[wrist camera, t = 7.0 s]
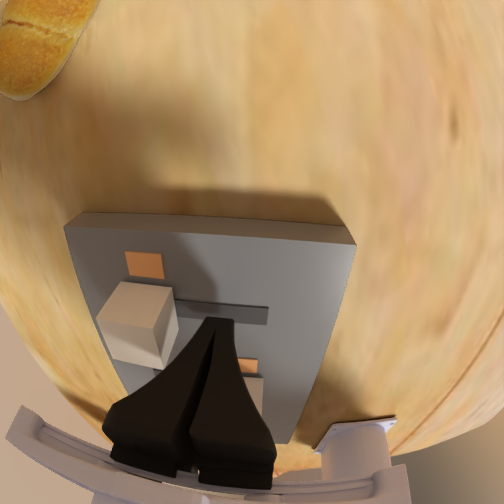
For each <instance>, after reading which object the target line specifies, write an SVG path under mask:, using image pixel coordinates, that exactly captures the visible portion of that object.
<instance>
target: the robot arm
mask: <svg viewBox="0 0 504 504" xmlns="http://www.w3.org/2000/svg"><path fill="white" fill-rule="evenodd" d="M396 422H397V418H396V417H393V418H387V419H379V420H371V421H361V422H350V423H336V424H333V425H332V426H331V427H330V428H329V430H328V431H327V433H326V434H325V436H324V437H323V439H322V440H321V441H320V443H319V444H318V446H317V447H316V448H315V450H314V454H321V463H322V480H319V481H301V482H300V481H296V482H275V481H274V482H273V481H272V476H273V469H274V462H275V459H276V457H277V451H276V447H275V443H274V441H273V438H272V435H271V433H270V430H269V428H268V427H267V425H266V423H265V422H264V420H263V419H262V417H261V415H260V413H259V412H258V410H257V408H256V406H255V404H254V402H253V400H252V398H251V395H250V393H249V391H248V389H247V386H246V384H245V381H244V378H243V375H242V372H241V369H240V365H239V362H238V358H237V353H236V348H235V321H234V320H233V319H230V318H220V317H210V316H207V317H205V319H204V320H203V322H202V324H201V325H200V327H199V328H198V330H197V331H196V333H195V334H194V335H193V337H192V338H191V339H190V341H189V342H188V343H187V345H186V346H185V347H184V348H183V349H182V351H181V352H180V353H179V354H178V355H177V356H176V357H175V358H174V360H173V361H172V362H171V363H170V364H169V365H168V366H167V367H166V368H164V369H163V370H162V371H161V372H160V373H159V374H158V375H157V376H155V377H154V378H153V379H152V380H150V381H149V382H148V383H147V384H145V385H144V386H142V387H141V388H139V389H138V390H136V391H135V392H133V393H132V394H130V395H129V396H127V397H125V398H123V399H121V400H119V401H118V402H116V403H114V404H113V405H112V406H111V408H110V410H109V411H108V413H107V415H106V418H105V420H104V423H103V425H102V430H103V432H104V433H105V435H106V436H107V437H108V438H109V439H110V440H111V441H112V442H113V443H114V445H113V448H112V451H109V450H106V449H103V448H101V447H98V446H96V445H93V444H91V443H88V442H86V441H83V440H81V439H79V438H77V437H74V436H72V435H70V434H68V433H66V432H64V431H62V430H59V429H58V428H56V427H53V426H52V425H50V424H48V423H46V422H44V420H43V419H42V418H41V417H40V416H39V415H38V414H36V413H35V412H33V411H31V410H30V409H28V408H26V407H24V406H21V407H20V409H19V411H18V413H17V415H16V416H15V419H14V421H13V422H12V425H11V426H10V428H9V431H8V433H7V435H6V437H5V438H6V439H7V440H8V441H9V442H10V443H12V444H13V445H14V446H16V447H17V448H18V449H19V450H21V451H22V452H23V453H25V454H26V455H27V456H29V457H30V458H32V459H33V460H35V461H36V462H38V463H40V464H41V465H43V466H45V467H46V468H48V469H50V470H51V471H53V472H55V473H57V474H58V475H60V476H62V477H64V478H66V479H67V480H70V481H71V482H73V483H75V484H77V485H79V486H81V487H83V488H86V489H87V490H90V491H92V492H94V496H93V499H92V503H91V504H412V503H411V496H410V489H409V482H408V476H407V470H406V465H405V464H401V465H396V466H391V461H390V454H389V449H388V443H387V438H386V432H387V431H388V430H389V429H390V428H391V427H392V426H393V425H394V424H395V423H396ZM123 470H124V471H123ZM198 470H199V474H198ZM125 471H127V472H130V473H133V474H136V475H140V476H143V477H147V478H150V479H154V480H158V481H161V482H166V483H170V484H174V485H179V486H184V487H188V488H194V489H200V490H206V491H212V492H220V493H228V494H238V495H246V496H245V497H244V500H242V499H234V498H228V497H221V496H216V495H210V494H205V493H200V492H196V491H192V490H189V489H184V488H180V487H176V486H170V485H167V484H163V483H159V482H155V481H151V480H148V479H144V478H141V477H138V476H134V475H131V474H128V473H127V472H125Z"/></svg>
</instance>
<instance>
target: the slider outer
mask: <svg viewBox="0 0 504 504" xmlns="http://www.w3.org/2000/svg"><path fill="white" fill-rule="evenodd" d="M96 320H97V323H98V325H99V328H100V330H101V333H102V335H103V338H104V340H105V342H106V344H107V347H108V349H109V351H110V353H111V356H112V358H113V359H116V360H120V361H124V362H128V363H132V364H137V365H142V366H146V367H151V368H156V369H161V370H163V369H164V368H165V367H166V364H167V361H168V358H169V355H170V353H171V350H172V347H173V344H174V341H175V339H176V336H177V333H178V330H179V327H178V321H177V315H176V309H175V303H174V297H173V290H172V287H164V286H155V285H147V284H139V283H131V282H123V281H121V282H120V283H119V285H118V286H117V287H116V289H115V290H114V292H113V293H112V295H111V296H110V297H109V299H108V300H107V302H106V303H105V305H104V306H103V308H102V309H101V311H100V312H99V314H98V315H97V317H96Z"/></svg>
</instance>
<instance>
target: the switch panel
mask: <svg viewBox="0 0 504 504" xmlns="http://www.w3.org/2000/svg"><path fill="white" fill-rule="evenodd" d="M63 227H64V231H65V235H66V239H67V243H68V247H69V251H70V254H71V258H72V261H73V265H74V268H75V271H76V274H77V277H78V281H79V284H80V287H81V289H82V292H83V295H84V298H85V301H86V304H87V306H88V309H89V311H90V314H91V317H92V319H93V322H94V324H95V327H96V329H97V331H98V334H99V336H100V338H101V341H102V343H103V345H104V347H105V350H106V352H107V354H108V356H109V358H110V360H111V362H112V364H113V366H114V368H115V370H116V372H117V374H118V376H119V378H120V380H121V382H122V384H123V386H124V388H125V389H126V391H127V393H128V395H130V394H132V393H133V392H135V391H136V390H138V389H139V388H141V387H142V386H144V385H145V384H147V383H148V382H149V381H150V380H152V379H153V378H154V377H155V376H157V375H158V374H159V373H160V372H161V371H162V370H161V369H156V368H151V367H146V366H142V365H137V364H132V363H128V362H124V361H120V360H116V359H113V358H112V356H111V353H110V351H109V349H108V347H107V344H106V342H105V340H104V338H103V335H102V333H101V330H100V328H99V325H98V323H97V320H96V317H97V315H98V314H99V312H100V311H101V309H102V308H103V306H104V305H105V303H106V302H107V300H108V299H109V297H110V296H111V295H112V293H113V292H114V290H115V289H116V287H117V286H118V285H119V283H120V282H121V281H123V282H131V283H139V284H147V285H155V286H164V287H172V290H173V297H174V303H175V309H176V315H177V321H178V327H179V330H178V333H177V336H176V339H175V341H174V344H173V347H172V350H171V353H170V355H169V358H168V361H167V364H166V367H167V366H168V365H169V364H170V363H171V362H172V361H173V360H174V358H175V357H176V356H177V355H178V354H179V353H180V352H181V351H182V349H183V348H184V347H185V346H186V345H187V343H188V342H189V341H190V339H191V338H192V337H193V335H194V334H195V333H196V331H197V330H198V328H199V327H200V325H201V324H202V322H203V320H204V319H205V317H207V316H210V317H220V318H230V319H233V320H234V321H235V348H236V353H237V358H238V362H239V365H240V369H241V372H242V375H243V377H252V378H264V382H263V400H262V419H263V420H264V422H265V423H266V425H267V427H268V428H269V430H270V433H271V435H272V438H273V441H274V443H275V444H288V443H289V441H290V439H291V436H292V434H293V432H294V430H295V428H296V425H297V423H298V421H299V418H300V416H301V414H302V411H303V409H304V407H305V404H306V402H307V399H308V397H309V394H310V392H311V389H312V387H313V384H314V382H315V379H316V377H317V374H318V371H319V369H320V366H321V363H322V360H323V358H324V355H325V352H326V349H327V346H328V343H329V340H330V337H331V334H332V331H333V328H334V325H335V322H336V319H337V315H338V312H339V309H340V306H341V302H342V299H343V295H344V292H345V288H346V285H347V281H348V277H349V274H350V270H351V266H352V262H353V258H354V254H355V250H356V246H357V245H356V243H355V241H354V239H353V237H352V236H351V234H350V232H349V230H348V228H347V227H344V226H333V225H322V224H311V223H299V222H286V221H273V220H259V219H244V218H228V217H210V216H191V215H168V214H140V213H99V212H82V213H81V214H79V215H78V216H77V217H75V218H74V219H73V220H71V221H70V222H69V223H67V224H66V225H65V226H63ZM166 367H165V368H166Z"/></svg>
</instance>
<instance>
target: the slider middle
mask: <svg viewBox="0 0 504 504" xmlns="http://www.w3.org/2000/svg"><path fill="white" fill-rule="evenodd" d="M243 378H244V381H245V384H246V386H247V389H248V391H249V393H250V395H251V398H252V400H253V402H254V404H255V406H256V408H257V410H258V412H259V413H260V415H261V417H262V400H263V382H264V378H252V377H243Z"/></svg>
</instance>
